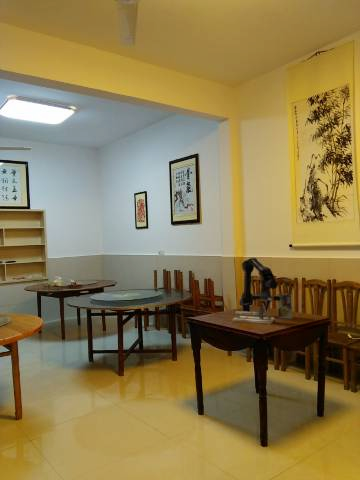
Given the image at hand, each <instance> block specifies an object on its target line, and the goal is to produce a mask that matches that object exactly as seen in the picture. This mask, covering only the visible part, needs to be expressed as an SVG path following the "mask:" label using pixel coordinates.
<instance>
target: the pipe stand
mask: <svg viewBox="0 0 360 480" xmlns="http://www.w3.org/2000/svg"><path fill="white" fill-rule="evenodd" d="M234 316H235V317H233V318H232V322H235V323H253V324H268V325H269V324H270V325H271V324H272V323H273V322H274V321H275V317H272V312H265V311H264V312H263V316H264V318H263V319H260V316H259V311H250V312H244V311H243V310H241V311H239V310H236V311H235V315H234Z"/></svg>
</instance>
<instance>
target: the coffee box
mask: <svg viewBox="0 0 360 480" xmlns="http://www.w3.org/2000/svg"><path fill="white" fill-rule="evenodd" d="M277 295H280V296H281V300H280V301H277V305H278V306H277V307H278V309H277V310H278V319H293V318H294V317H293V297H292V296H293V295H292V293H278V294H277Z"/></svg>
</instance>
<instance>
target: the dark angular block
mask: <svg viewBox="0 0 360 480" xmlns="http://www.w3.org/2000/svg"><path fill="white" fill-rule="evenodd" d="M258 307H259V311H258V312H259V316H258V317H260V319H263V318H264V317H265V316H263V312H265V310H264V309H265V306H264V305H259V306H258Z"/></svg>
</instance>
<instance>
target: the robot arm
mask: <svg viewBox="0 0 360 480" xmlns="http://www.w3.org/2000/svg"><path fill="white" fill-rule="evenodd" d="M241 267H242V270H243V272H244V277H243V280H244V281H243V282H244V283H243V293H242V294H241V298H240V300H239V304H238V305H239V306H241V307H242V310H241V311H244V312H251V306H253V304H254V301H257V300H259V301H260V302H261V303H263V304H262V305H263V307H264V309H265V311H268V310H269V307H270V304H271V302H273V301H276V302H278V301H280V300H281V296H280V295H278V294H277V295H276V294H275V295H273V296H272V292H271V289H272V290H276V289H277V288H278V286H279V285H278V282H277V281H276V280H275V276H274V274H273V271H272V270H271V268H269V267H267V266H264V265H263V264H262V263H261V262H260V261H259V260H258V259H257V258H256V257H250V258H248V259H245V260H244V261H243V262H242V263H241ZM254 269H256V270H257V272H258V275H259V277H260V278H259V280H260V281H261V289H260V290H261V292H260V294H253V293H252V291H251V290H252V273H253V271H254Z"/></svg>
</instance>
